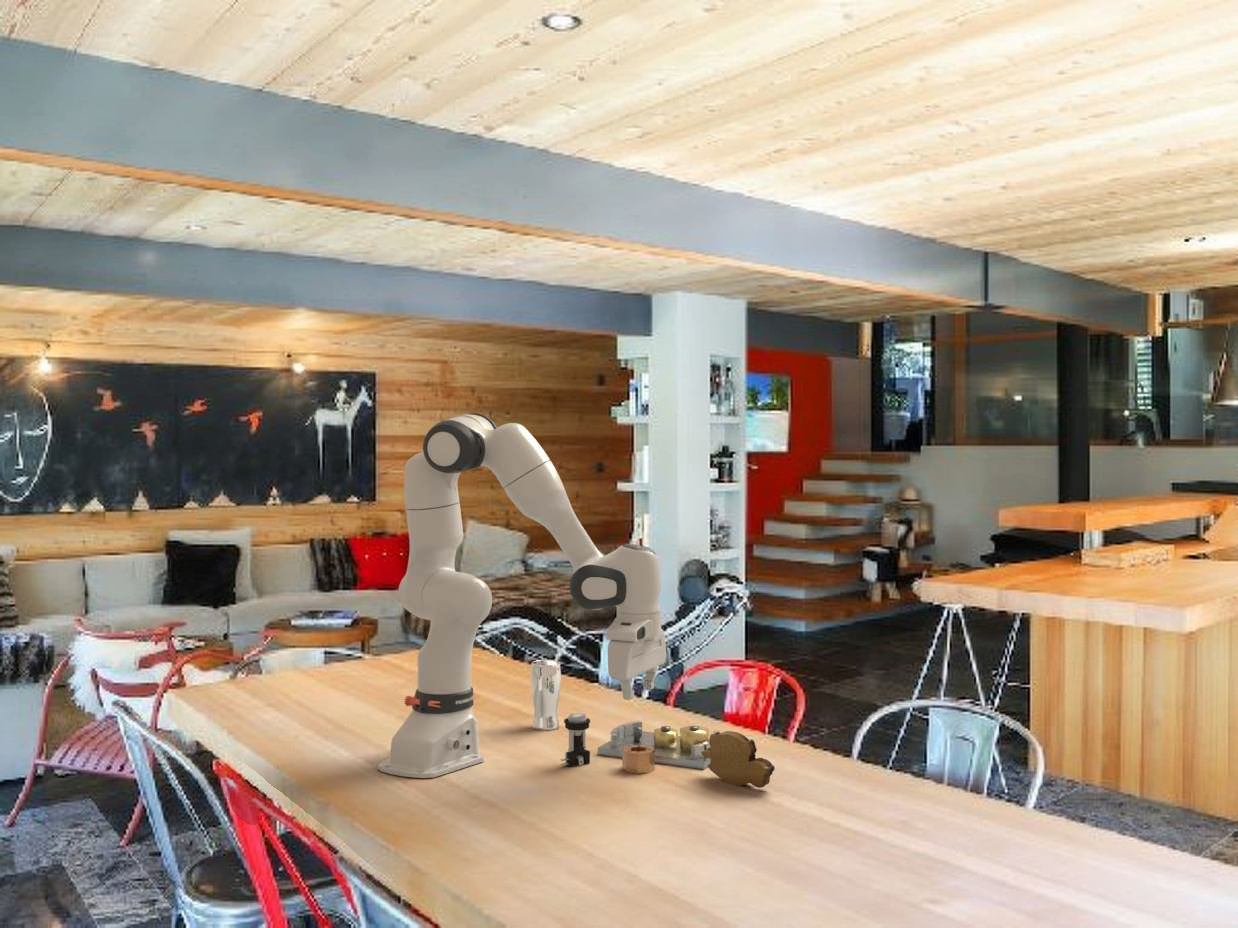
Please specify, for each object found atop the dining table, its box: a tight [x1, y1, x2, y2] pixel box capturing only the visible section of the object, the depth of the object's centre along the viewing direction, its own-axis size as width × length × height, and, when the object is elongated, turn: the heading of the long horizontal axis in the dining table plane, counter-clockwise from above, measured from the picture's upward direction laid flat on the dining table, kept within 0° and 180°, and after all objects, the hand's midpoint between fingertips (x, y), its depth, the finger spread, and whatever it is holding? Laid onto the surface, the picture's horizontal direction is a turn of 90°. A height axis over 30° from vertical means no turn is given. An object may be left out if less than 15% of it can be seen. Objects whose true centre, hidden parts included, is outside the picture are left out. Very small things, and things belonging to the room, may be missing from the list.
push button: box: [560, 712, 591, 768], centre depth 224 cm, size 7×5×10 cm
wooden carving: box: [701, 730, 775, 789], centre depth 212 cm, size 16×5×10 cm, turn 49°
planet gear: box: [621, 745, 656, 775], centre depth 221 cm, size 6×6×4 cm
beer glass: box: [530, 659, 562, 731], centre depth 254 cm, size 7×7×15 cm
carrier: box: [597, 720, 721, 770], centre depth 234 cm, size 16×24×6 cm, turn 64°
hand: (638, 694), depth 221 cm, fingers open, 8 cm apart
